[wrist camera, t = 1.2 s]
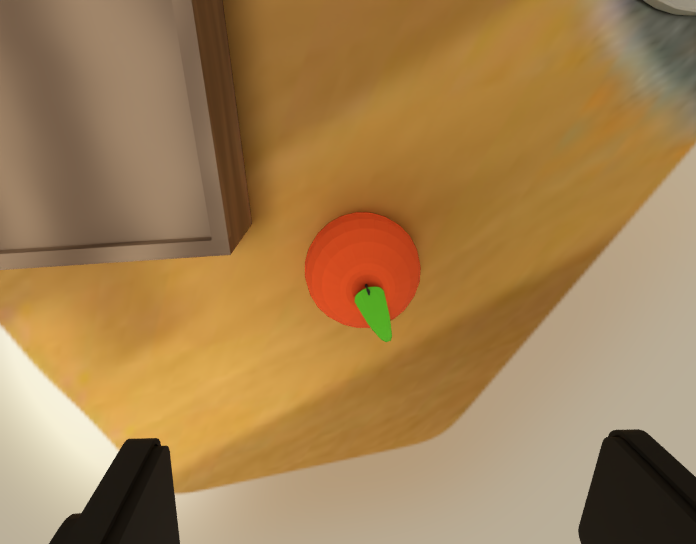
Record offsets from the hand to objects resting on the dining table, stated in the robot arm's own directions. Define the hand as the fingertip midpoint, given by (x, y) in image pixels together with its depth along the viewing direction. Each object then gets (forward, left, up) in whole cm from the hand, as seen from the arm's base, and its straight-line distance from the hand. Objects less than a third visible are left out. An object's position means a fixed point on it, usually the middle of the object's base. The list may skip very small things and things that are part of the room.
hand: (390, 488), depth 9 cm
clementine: (-1, +2, -21) cm, 21 cm away
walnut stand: (+13, -8, -21) cm, 26 cm away
